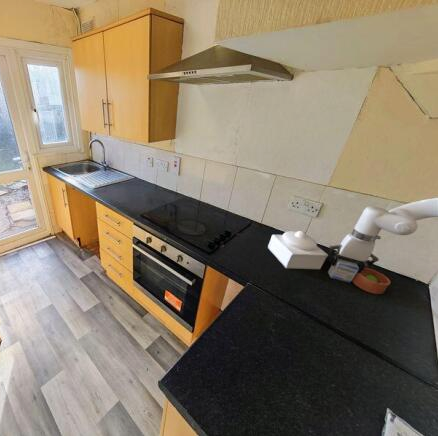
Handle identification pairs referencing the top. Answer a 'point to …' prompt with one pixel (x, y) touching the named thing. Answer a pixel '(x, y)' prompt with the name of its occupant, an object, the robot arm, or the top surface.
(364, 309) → the top surface
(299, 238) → the butter dish
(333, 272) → the medicine box
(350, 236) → the robot arm
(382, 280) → the bowl
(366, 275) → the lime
